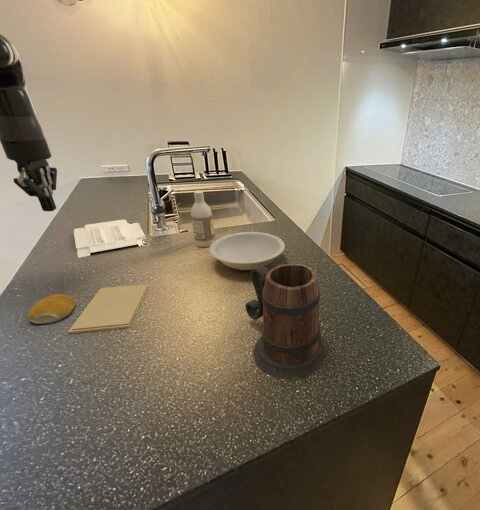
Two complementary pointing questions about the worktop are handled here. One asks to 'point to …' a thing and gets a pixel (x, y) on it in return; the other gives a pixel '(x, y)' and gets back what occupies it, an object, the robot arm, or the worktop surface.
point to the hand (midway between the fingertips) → (50, 210)
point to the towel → (111, 309)
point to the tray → (107, 236)
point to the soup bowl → (247, 249)
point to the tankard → (287, 320)
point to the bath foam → (202, 221)
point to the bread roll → (51, 309)
